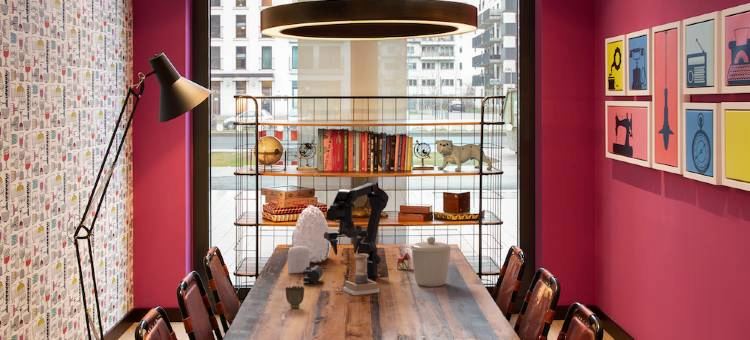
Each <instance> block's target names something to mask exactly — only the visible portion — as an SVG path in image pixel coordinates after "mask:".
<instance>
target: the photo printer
mask: <svg viewBox="0 0 750 340" xmlns="http://www.w3.org/2000/svg"><path fill="white" fill-rule="evenodd" d="M287 251H288V253H287V260H288V261H287V271H288V272H287V273H288V274H300V273H302V274H303V270H304V269H306V267H310V262H309V248H308V247H305V246H295V247H292V246H291V247H289V248H288V250H287Z"/></svg>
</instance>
